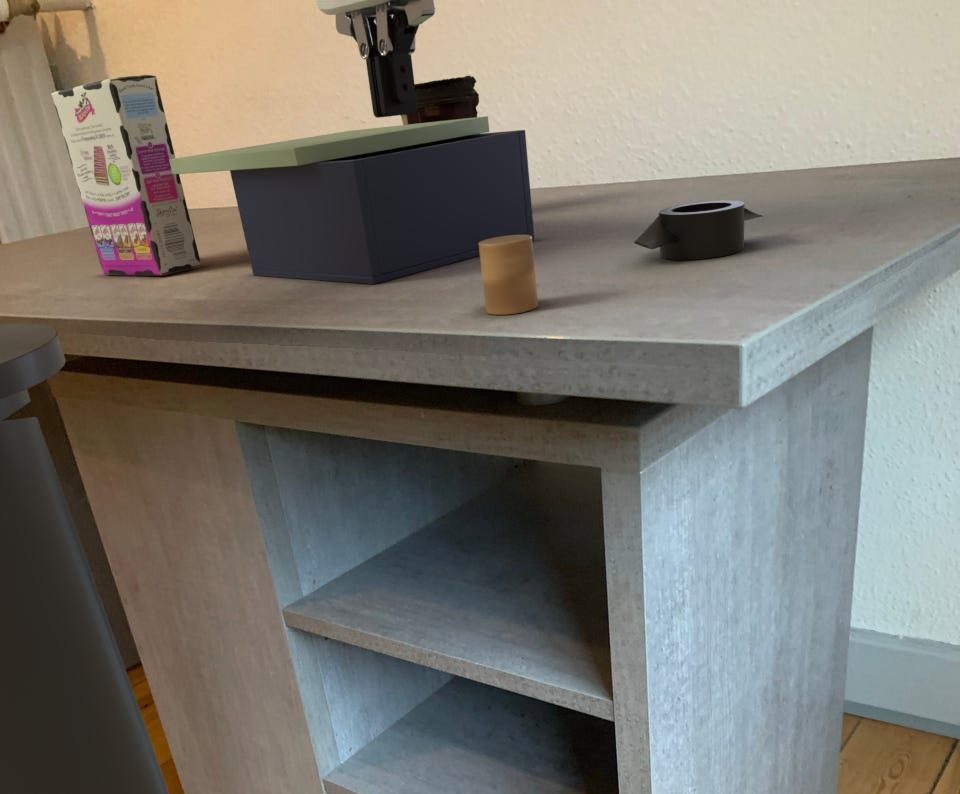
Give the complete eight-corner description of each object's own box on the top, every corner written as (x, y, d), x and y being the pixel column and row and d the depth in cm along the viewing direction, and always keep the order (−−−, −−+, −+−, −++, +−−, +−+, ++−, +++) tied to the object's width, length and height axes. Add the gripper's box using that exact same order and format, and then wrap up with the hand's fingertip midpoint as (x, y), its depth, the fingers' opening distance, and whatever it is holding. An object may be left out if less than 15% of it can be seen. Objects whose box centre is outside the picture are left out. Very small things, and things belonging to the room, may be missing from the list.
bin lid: (297, 165, 73) (294, 148, 72) (172, 174, 86) (168, 159, 86) (489, 131, 84) (488, 116, 83) (352, 144, 97) (350, 130, 97)
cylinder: (511, 316, 58) (504, 245, 56) (475, 313, 60) (467, 244, 58) (548, 304, 60) (542, 234, 58) (512, 301, 62) (505, 234, 60)
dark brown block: (511, 213, 103) (497, 71, 96) (458, 227, 98) (439, 79, 91) (451, 215, 108) (434, 80, 102) (397, 228, 103) (376, 88, 97)
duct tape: (787, 251, 65) (788, 204, 64) (637, 269, 66) (635, 223, 65) (760, 235, 72) (761, 192, 71) (624, 252, 73) (622, 210, 71)
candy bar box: (205, 266, 95) (158, 73, 87) (162, 277, 92) (108, 77, 84) (144, 265, 102) (94, 86, 94) (101, 275, 99) (46, 91, 91)
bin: (373, 284, 74) (353, 160, 70) (253, 275, 86) (229, 169, 82) (535, 240, 84) (525, 129, 80) (406, 238, 96) (392, 141, 91)
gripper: (254, -159, 71) (303, 126, 80) (380, -221, 61) (420, 113, 69) (338, -153, 75) (375, 117, 84) (469, -210, 65) (496, 104, 74)
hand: (395, 114), depth 77 cm, fingers closed
